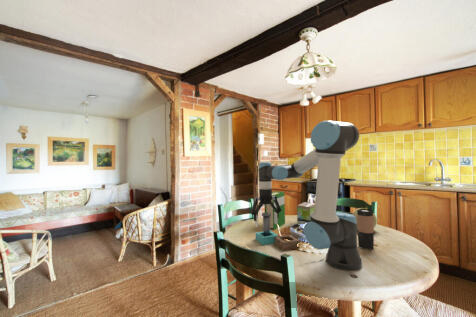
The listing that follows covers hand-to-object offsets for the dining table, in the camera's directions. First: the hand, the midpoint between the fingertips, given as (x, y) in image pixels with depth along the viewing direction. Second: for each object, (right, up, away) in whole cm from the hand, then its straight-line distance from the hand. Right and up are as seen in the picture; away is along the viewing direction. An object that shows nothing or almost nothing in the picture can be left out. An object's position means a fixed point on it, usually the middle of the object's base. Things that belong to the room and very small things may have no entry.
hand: (266, 225), depth 131 cm
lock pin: (0, -9, 0) cm, 9 cm away
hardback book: (+11, -10, +32) cm, 35 cm away
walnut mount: (+10, -10, -8) cm, 17 cm away
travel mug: (+53, -9, -10) cm, 55 cm away
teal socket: (0, -10, 0) cm, 10 cm away
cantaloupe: (+67, -9, +17) cm, 70 cm away
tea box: (+35, -10, +35) cm, 50 cm away
